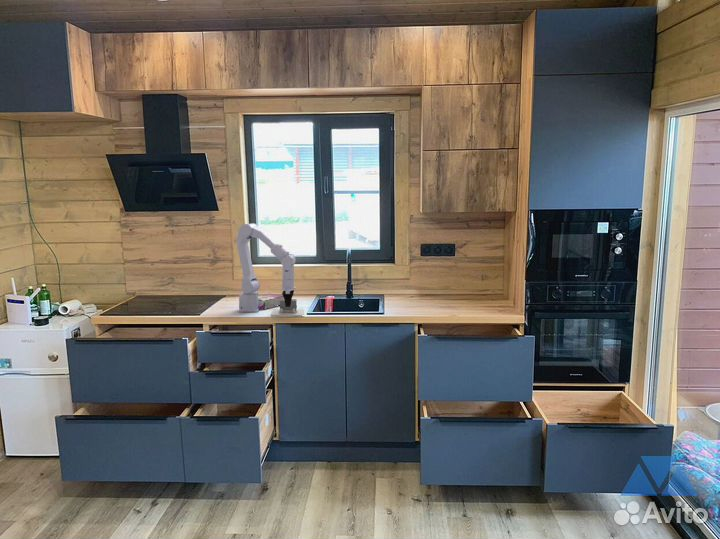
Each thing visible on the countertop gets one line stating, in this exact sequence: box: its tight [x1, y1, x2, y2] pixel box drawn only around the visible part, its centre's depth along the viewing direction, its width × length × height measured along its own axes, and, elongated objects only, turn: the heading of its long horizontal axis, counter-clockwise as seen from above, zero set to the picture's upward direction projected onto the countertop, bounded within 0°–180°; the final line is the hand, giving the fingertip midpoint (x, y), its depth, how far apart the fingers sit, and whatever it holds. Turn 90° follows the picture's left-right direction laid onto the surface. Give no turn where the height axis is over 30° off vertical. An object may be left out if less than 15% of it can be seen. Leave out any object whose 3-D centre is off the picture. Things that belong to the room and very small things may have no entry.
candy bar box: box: [258, 293, 284, 310], centre depth 288 cm, size 11×5×16 cm
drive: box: [279, 298, 298, 311], centre depth 271 cm, size 8×4×5 cm, turn 95°
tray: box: [270, 308, 305, 317], centre depth 271 cm, size 16×14×3 cm
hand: (288, 305), depth 271 cm, fingers closed on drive, 4 cm apart
